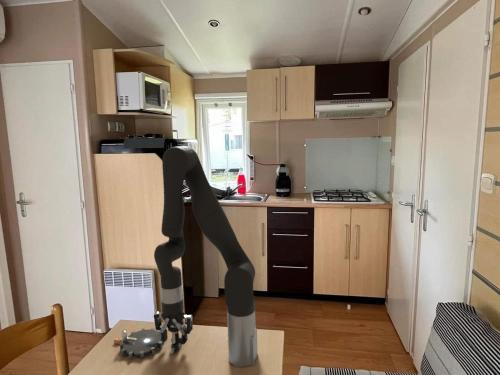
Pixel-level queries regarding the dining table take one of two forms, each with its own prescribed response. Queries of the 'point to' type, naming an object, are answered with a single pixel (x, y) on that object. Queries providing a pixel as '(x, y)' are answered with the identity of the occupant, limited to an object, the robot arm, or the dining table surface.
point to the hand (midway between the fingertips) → (174, 341)
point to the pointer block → (117, 340)
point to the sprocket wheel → (140, 343)
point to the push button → (175, 338)
